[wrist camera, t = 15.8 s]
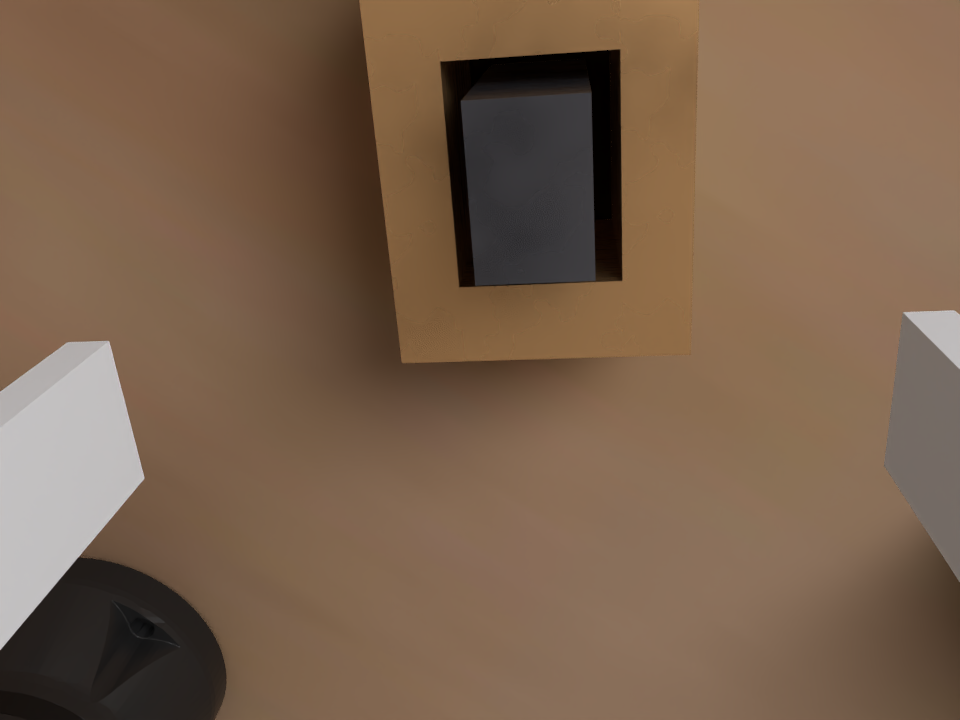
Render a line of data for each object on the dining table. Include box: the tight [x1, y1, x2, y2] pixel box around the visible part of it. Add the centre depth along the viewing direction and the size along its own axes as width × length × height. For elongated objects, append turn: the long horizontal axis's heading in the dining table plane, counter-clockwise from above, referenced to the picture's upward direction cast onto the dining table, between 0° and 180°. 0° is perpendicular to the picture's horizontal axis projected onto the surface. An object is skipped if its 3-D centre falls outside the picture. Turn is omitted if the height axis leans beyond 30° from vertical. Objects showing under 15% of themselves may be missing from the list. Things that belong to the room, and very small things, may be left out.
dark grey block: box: [461, 58, 596, 286], centre depth 34 cm, size 4×6×12 cm, turn 4°
